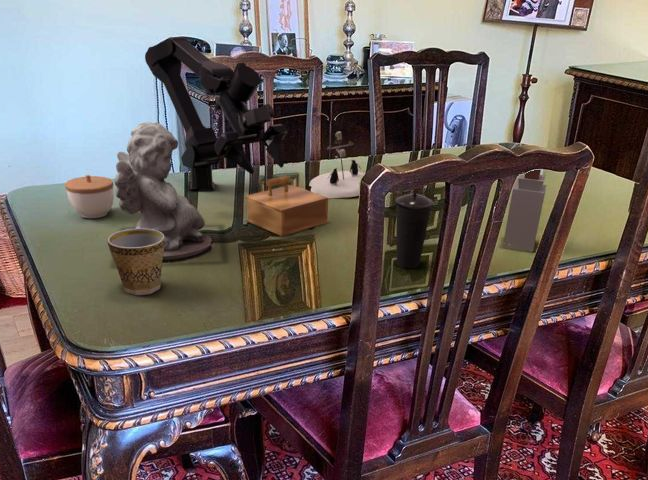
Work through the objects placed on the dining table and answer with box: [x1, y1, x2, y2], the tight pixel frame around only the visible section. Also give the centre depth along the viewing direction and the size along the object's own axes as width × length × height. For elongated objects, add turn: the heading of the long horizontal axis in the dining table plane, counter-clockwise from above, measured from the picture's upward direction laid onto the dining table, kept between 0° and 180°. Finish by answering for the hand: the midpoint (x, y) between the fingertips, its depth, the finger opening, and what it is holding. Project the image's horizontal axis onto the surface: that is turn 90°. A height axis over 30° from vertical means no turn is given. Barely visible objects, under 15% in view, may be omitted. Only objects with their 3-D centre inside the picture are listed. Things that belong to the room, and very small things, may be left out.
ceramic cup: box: [106, 227, 164, 296], centre depth 119 cm, size 13×10×10 cm
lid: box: [244, 175, 329, 213], centre depth 151 cm, size 13×15×5 cm
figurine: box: [308, 131, 365, 199], centre depth 175 cm, size 20×18×16 cm
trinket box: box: [64, 174, 115, 219], centre depth 152 cm, size 11×11×9 cm
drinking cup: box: [394, 188, 434, 269], centre depth 130 cm, size 8×8×20 cm
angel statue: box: [114, 121, 215, 263], centre depth 133 cm, size 22×22×25 cm
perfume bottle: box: [502, 169, 548, 253], centre depth 142 cm, size 7×7×18 cm
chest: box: [246, 199, 329, 237], centre depth 153 cm, size 13×15×5 cm
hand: (267, 169), depth 153 cm, fingers open, 9 cm apart
